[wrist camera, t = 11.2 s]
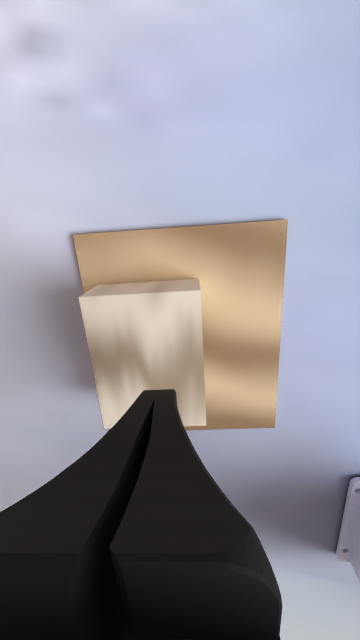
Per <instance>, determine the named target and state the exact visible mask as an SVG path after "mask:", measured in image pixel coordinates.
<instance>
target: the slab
mask: <svg viewBox="0 0 360 640" xmlns="http://www.w3.org/2000/svg"><path fill="white" fill-rule="evenodd" d="M78 298H79V303H80V308H81V313H82V318H83V323H84V328H85V333H86V338H87V343H88V348H89V353H90V358H91V363H92V368H93V373H94V379H95V384H96V389H97V394H98V399H99V404H100V409H101V414H102V419H103V424H104V429H111V428H112V427H113V426H114V425H115V424H116V423H117V422H118V420H119V419H120V418H121V417H122V416H123V415H124V414H125V412H126V411H127V410H128V409H129V408H130V406H131V405H132V404H133V403H134V401H135V400H136V399H137V398H138V396H139V395H140V394H141V393H142V392H143V391H144V390H162V389H174V390H175V391H176V396H177V407H178V411H179V414H180V417H181V420H182V423H183V425H184V426H206V404H205V380H204V356H203V331H202V307H201V289H200V283H199V279H183V280H166V281H150V282H133V283H116V284H99V285H97V286H95V287H94V288H92V289H90V290H89V291H87V292H86V293H84V294H83V295H81V296H80V297H78Z"/></svg>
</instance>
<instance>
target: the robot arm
mask: <svg viewBox="0 0 360 640" xmlns="http://www.w3.org/2000/svg"><path fill="white" fill-rule="evenodd" d="M336 556H337V559H338V560H339V561H341V562H350V563H351V565H352V567H353V569H354V571H355V573H356V575H357V577H358V579H359V581H360V477H354V478H352V479H351V480H350V483H349V488H348V493H347V498H346V504H345V509H344V514H343V519H342V524H341V530H340V535H339V540H338V545H337V550H336ZM281 614H282V600H281V594H280V590H279V587H278V584H277V581H276V578H275V575H274V572H273V570H272V567H271V565H270V562H269V560H268V558H267V555H266V553H265V551H264V549H263V547H262V545H261V542H260V540H259V538H258V536H257V534H256V532H255V530H254V528H253V527H252V526H251V525H250V524H249V523H248V522H247V521H246V519H245V518H244V517H243V516H242V515H241V514H240V513H239V512H238V510H237V509H236V508H235V507H234V506H233V505H232V503H231V502H230V501H229V500H228V498H227V497H226V496H225V494H224V493H223V492H222V491H221V489H220V488H219V487H218V485H217V484H216V482H215V481H214V479H213V478H212V477H211V475H210V474H209V472H208V471H207V469H206V468H205V466H204V465H203V463H202V461H201V460H200V458H199V456H198V455H197V453H196V451H195V449H194V447H193V445H192V443H191V441H190V439H189V437H188V435H187V433H186V430H185V428H184V425H183V423H182V420H181V417H180V414H179V411H178V407H177V396H176V391H175V390H174V389H162V390H144V391H143V392H142V393H141V394H140V395H139V396H138V398H137V399H136V400H135V401H134V403H133V404H132V405H131V406H130V408H129V409H128V410H127V411H126V412H125V414H124V415H123V416H122V417H121V418H120V419H119V420H118V422H117V423H116V424H115V425H114V426H113V427H112V428H111V429H110V430H109V431H108V432H107V433H106V434H105V435H104V436H103V437H102V438H101V440H99V441H98V442H97V443H96V444H95V445H94V446H93V447H92V448H91V449H90V450H89V451H88V452H86V453H85V454H84V455H83V456H82V457H81V458H79V459H78V460H77V461H76V462H74V463H73V464H72V465H70V466H69V467H68V468H66V469H65V470H64V471H62V472H61V473H60V474H59V475H57V476H56V477H55V478H53V479H52V480H50V481H49V482H48V483H46V484H45V485H43V486H42V487H40V488H39V489H37V490H36V491H34V492H33V493H31V494H29V495H28V496H26V497H25V498H23V499H22V500H20V501H18V502H17V503H15V504H13V505H12V506H10V507H8V508H7V509H5V510H3V511H1V512H0V640H280V636H279V634H280V624H281Z"/></svg>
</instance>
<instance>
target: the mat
mask: <svg viewBox="0 0 360 640" xmlns="http://www.w3.org/2000/svg"><path fill="white" fill-rule="evenodd" d="M287 224H288V220H274V221H260V222H245V223H231V224H217V225H203V226H188V227H174V228H160V229H146V230H132V231H117V232H103V233H89V234H75V235H73V238H74V244H75V249H76V254H77V260H78V265H79V270H80V275H81V281H82V286H83V291H84V293H86V292H87V291H89V290H90V289H92V288H94V287H95V286H97V285H99V284H116V283H133V282H150V281H166V280H183V279H199V283H200V289H201V307H202V331H203V356H204V380H205V404H206V426H184V428H185V430H209V429H242V428H275V416H276V400H277V384H278V368H279V352H280V336H281V320H282V304H283V288H284V272H285V256H286V240H287Z"/></svg>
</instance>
